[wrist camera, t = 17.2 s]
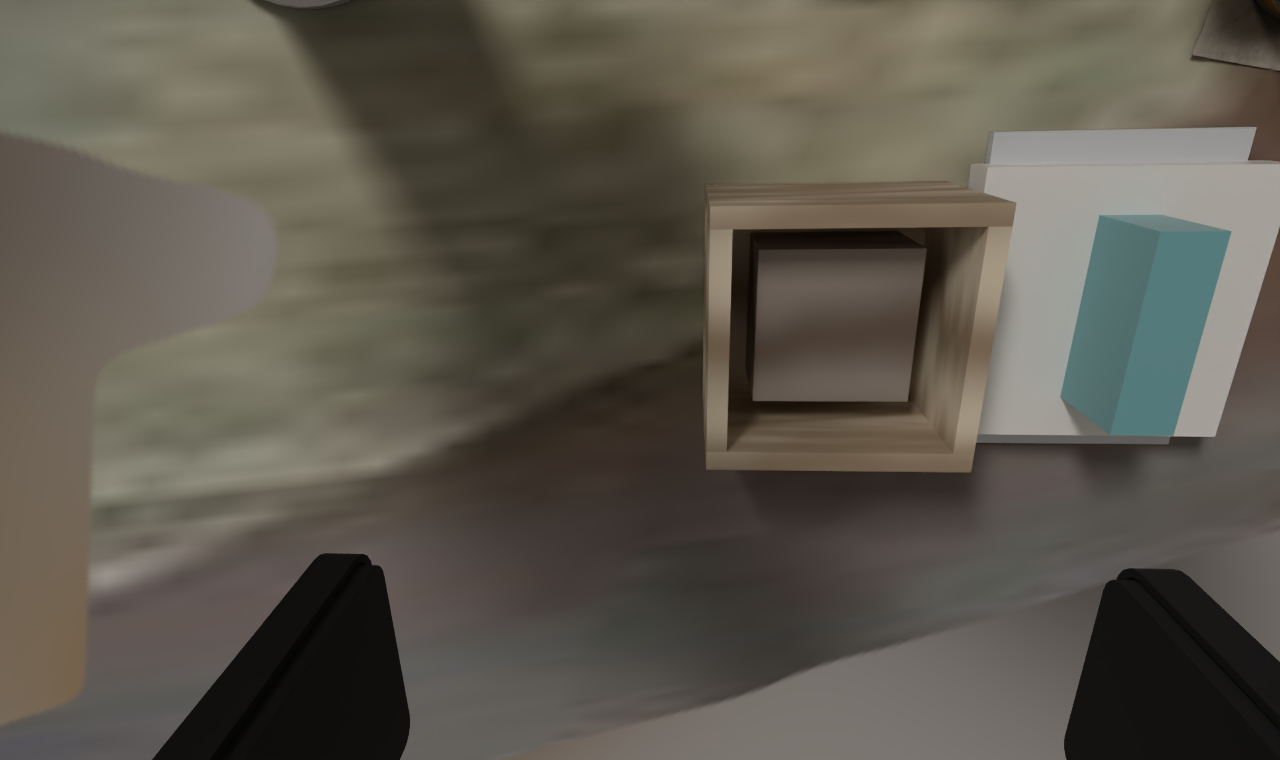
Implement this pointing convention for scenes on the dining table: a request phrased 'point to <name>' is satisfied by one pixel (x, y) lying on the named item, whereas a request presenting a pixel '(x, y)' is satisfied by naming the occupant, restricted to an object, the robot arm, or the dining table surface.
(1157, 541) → the dining table surface
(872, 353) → the crate
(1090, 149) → the mat
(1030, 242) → the lid
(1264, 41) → the condiment
